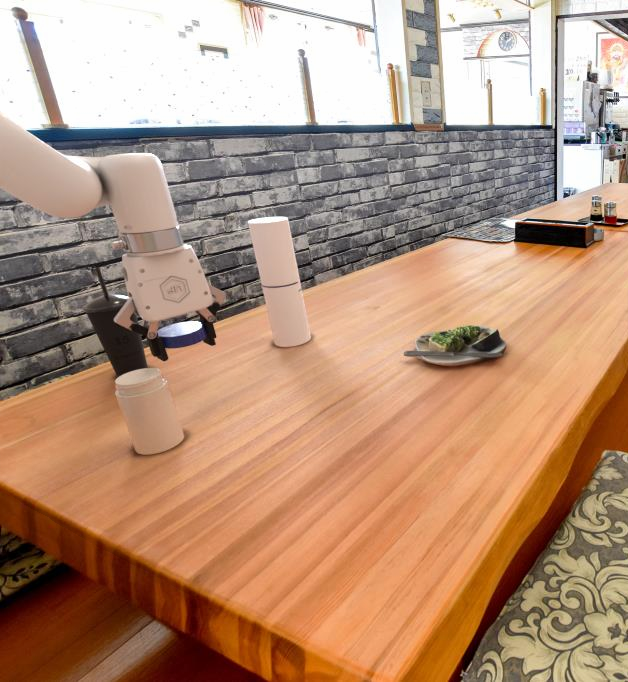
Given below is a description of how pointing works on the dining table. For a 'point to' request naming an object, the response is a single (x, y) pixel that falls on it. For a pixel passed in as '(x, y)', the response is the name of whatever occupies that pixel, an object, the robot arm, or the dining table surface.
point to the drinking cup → (115, 331)
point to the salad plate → (459, 346)
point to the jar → (148, 411)
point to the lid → (182, 334)
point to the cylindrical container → (280, 280)
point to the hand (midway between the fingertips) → (186, 350)
